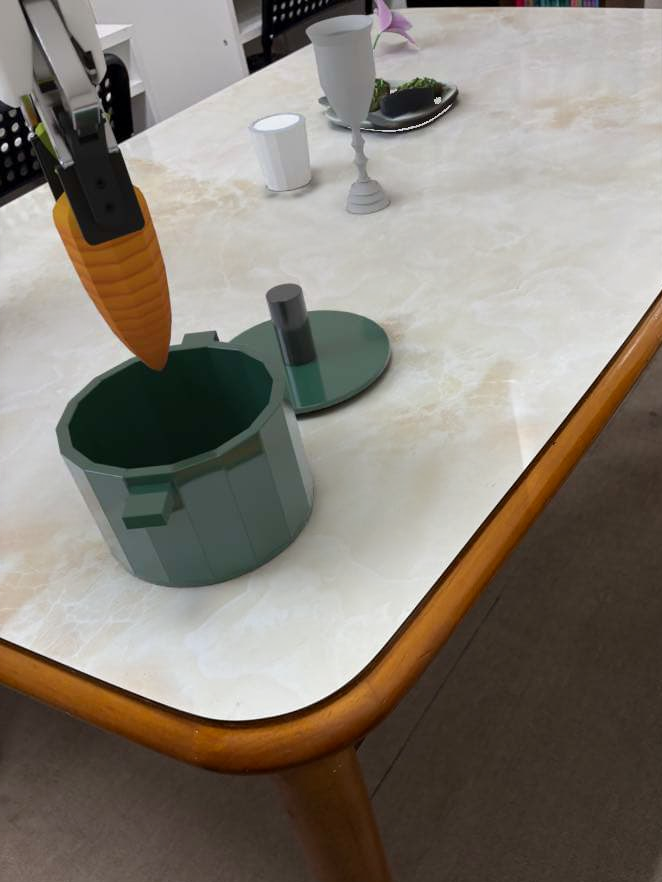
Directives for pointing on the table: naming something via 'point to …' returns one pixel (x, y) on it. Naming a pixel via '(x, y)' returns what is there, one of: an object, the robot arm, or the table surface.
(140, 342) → the carrot
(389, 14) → the lily
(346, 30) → the chalice
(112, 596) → the table surface
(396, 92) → the salad plate
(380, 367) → the lid
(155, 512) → the pot
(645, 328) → the table surface
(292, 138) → the shot glass
